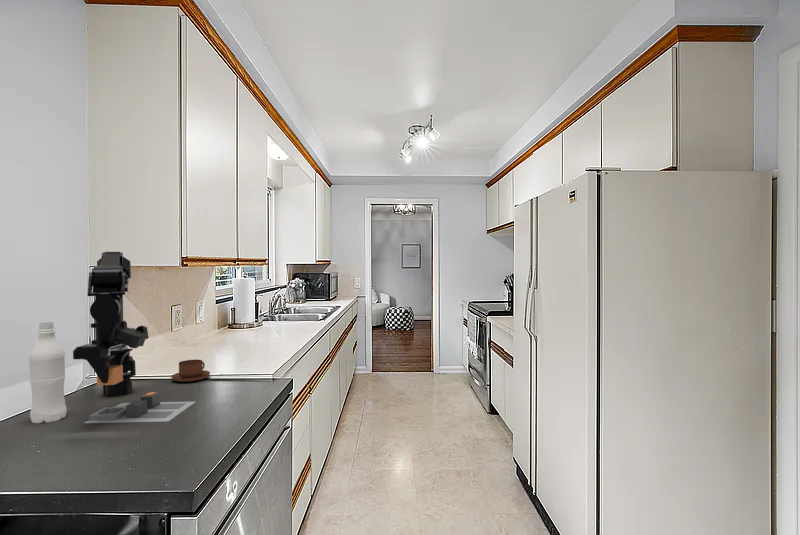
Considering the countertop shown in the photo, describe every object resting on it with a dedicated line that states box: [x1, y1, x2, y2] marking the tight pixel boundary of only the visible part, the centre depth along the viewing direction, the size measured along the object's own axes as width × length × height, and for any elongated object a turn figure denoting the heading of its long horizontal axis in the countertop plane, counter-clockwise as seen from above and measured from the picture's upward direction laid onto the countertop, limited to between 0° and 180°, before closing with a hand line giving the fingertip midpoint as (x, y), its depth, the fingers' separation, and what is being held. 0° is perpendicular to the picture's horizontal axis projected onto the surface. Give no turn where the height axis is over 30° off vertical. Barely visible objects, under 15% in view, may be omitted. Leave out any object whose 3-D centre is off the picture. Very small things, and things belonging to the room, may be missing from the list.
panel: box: [84, 400, 196, 424], centre depth 121 cm, size 20×16×5 cm
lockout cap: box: [96, 365, 123, 386], centre depth 118 cm, size 4×4×4 cm
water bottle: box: [28, 321, 68, 424], centre depth 117 cm, size 7×7×25 cm
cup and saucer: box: [170, 359, 211, 383], centre depth 161 cm, size 12×12×6 cm
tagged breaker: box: [140, 391, 161, 408], centre depth 125 cm, size 3×4×3 cm
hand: (110, 380), depth 118 cm, fingers closed on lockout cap, 4 cm apart
